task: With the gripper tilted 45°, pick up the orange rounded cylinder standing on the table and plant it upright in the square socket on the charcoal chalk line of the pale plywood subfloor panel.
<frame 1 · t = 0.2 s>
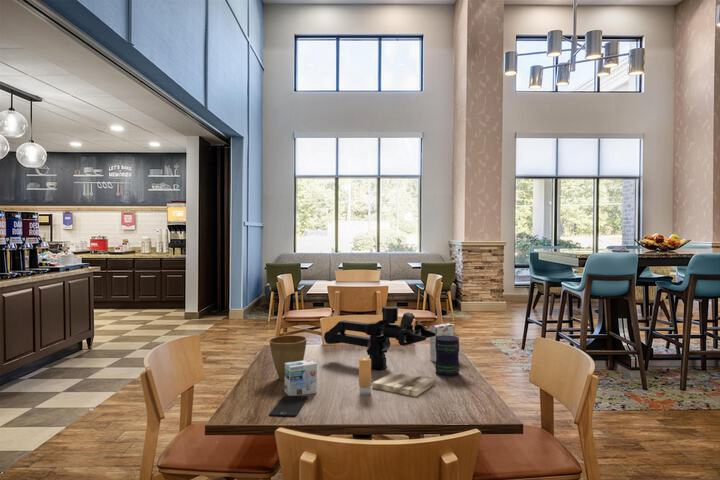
hand: (430, 336, 185), 17 cm above the table, tool horizontal, fingers open, 9 cm apart
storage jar: (447, 374, 190), on the table
cell phone: (289, 408, 154), on the table
plant pot: (288, 379, 184), on the table
subfloor panel: (403, 386, 174), on the table
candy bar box: (442, 360, 211), on the table
light bulb box: (300, 392, 168), on the table
orange rounded cylinder: (365, 393, 166), on the table
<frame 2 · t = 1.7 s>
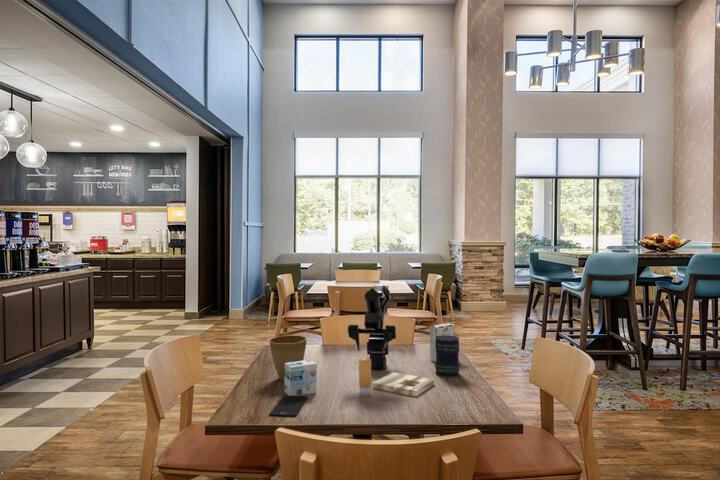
hand: (370, 350, 173), 14 cm above the table, tool tilted 45°, fingers open, 9 cm apart
nothing on the table moved.
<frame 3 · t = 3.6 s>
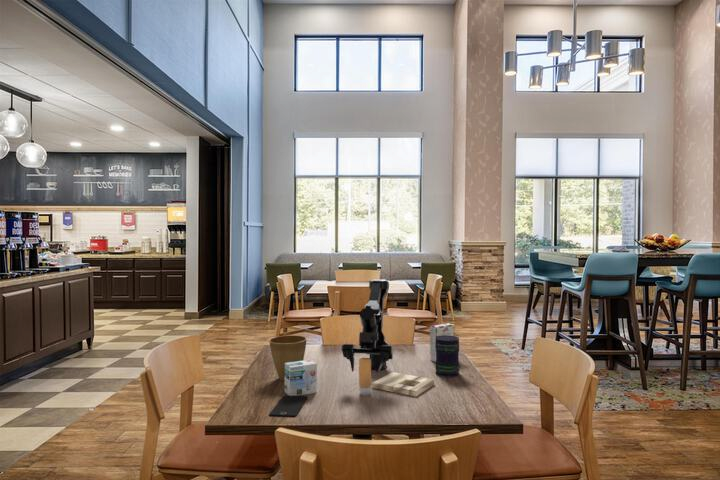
hand: (364, 371, 166), 8 cm above the table, tool tilted 45°, fingers open, 9 cm apart
nothing on the table moved.
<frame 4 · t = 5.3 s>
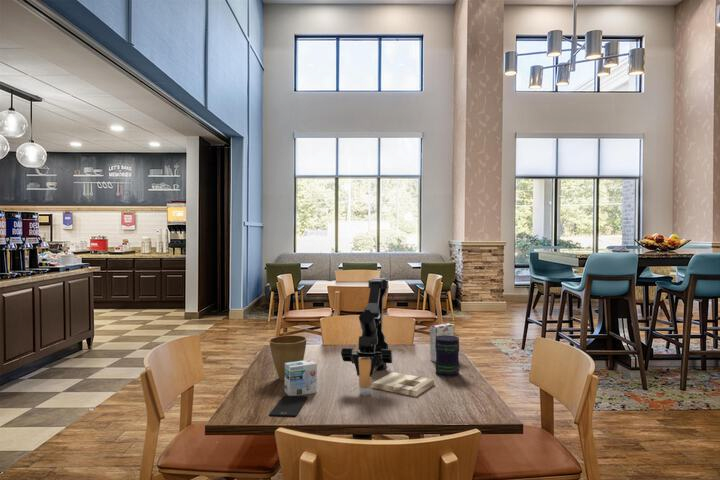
hand: (364, 376, 164), 7 cm above the table, tool tilted 45°, fingers closed on orange rounded cylinder, 4 cm apart
orange rounded cylinder: (365, 393, 166), on the table, touching gripper
everything else where it was.
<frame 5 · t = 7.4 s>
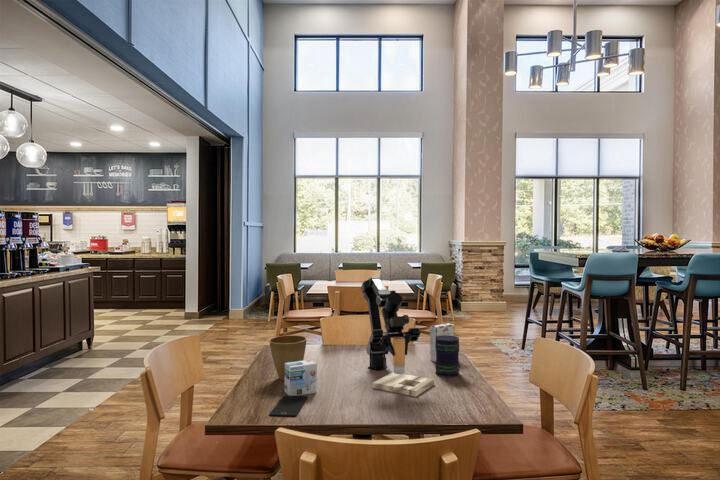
hand: (400, 355, 168), 13 cm above the table, tool tilted 45°, fingers closed on orange rounded cylinder, 4 cm apart
orange rounded cylinder: (399, 372, 169), point 7 cm above the table, touching gripper
everything else where it was.
when the fingers open (8 cm above the table, at t = 10.0 s): orange rounded cylinder stays where it is, resting in subfloor panel.
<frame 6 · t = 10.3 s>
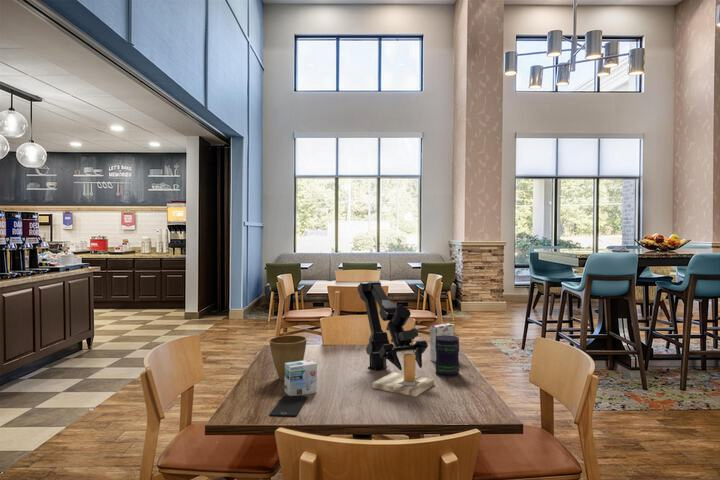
hand: (411, 368, 170), 8 cm above the table, tool tilted 45°, fingers open, 8 cm apart
orange rounded cylinder: (409, 388, 172), resting in subfloor panel
everything else where it was.
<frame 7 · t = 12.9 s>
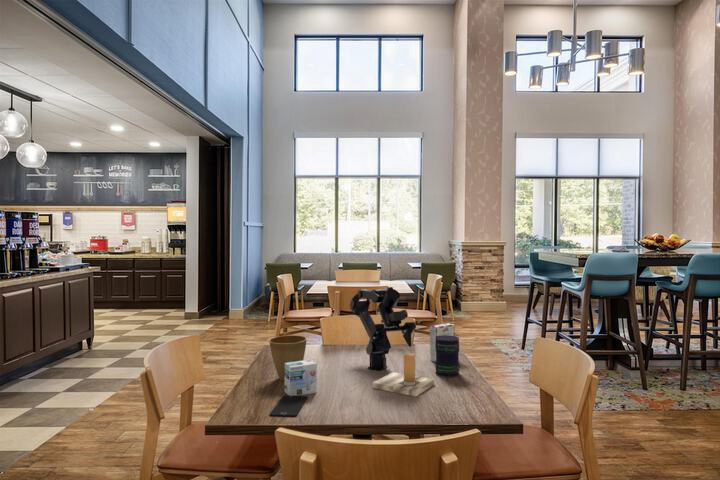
hand: (400, 347, 179), 14 cm above the table, tool tilted 45°, fingers open, 9 cm apart
nothing on the table moved.
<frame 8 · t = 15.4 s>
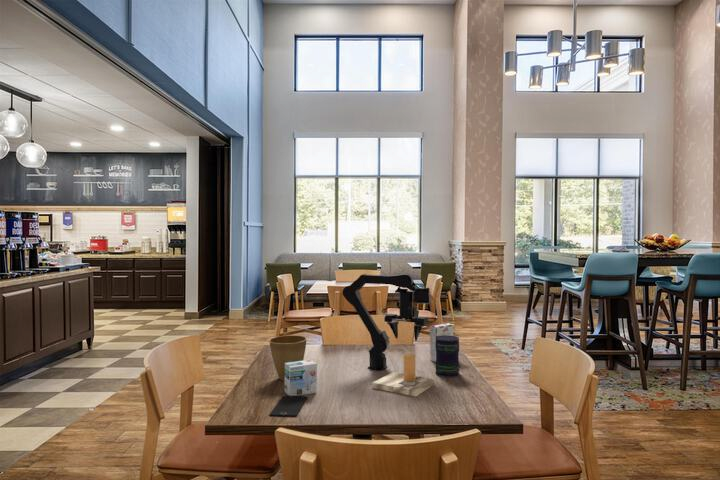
hand: (406, 339, 196), 13 cm above the table, tool pointing down, fingers open, 9 cm apart
nothing on the table moved.
at the end: orange rounded cylinder 0.0 cm from the target spot on the subfloor panel, point 0.0 cm above the subfloor panel's base; orange rounded cylinder tilted 0°; the gripper is holding nothing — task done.
